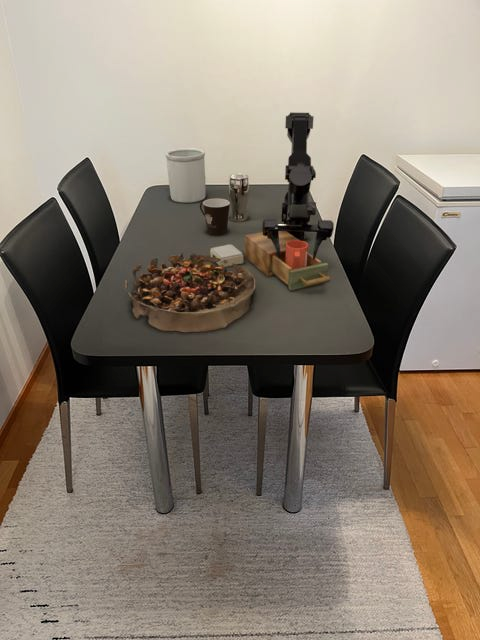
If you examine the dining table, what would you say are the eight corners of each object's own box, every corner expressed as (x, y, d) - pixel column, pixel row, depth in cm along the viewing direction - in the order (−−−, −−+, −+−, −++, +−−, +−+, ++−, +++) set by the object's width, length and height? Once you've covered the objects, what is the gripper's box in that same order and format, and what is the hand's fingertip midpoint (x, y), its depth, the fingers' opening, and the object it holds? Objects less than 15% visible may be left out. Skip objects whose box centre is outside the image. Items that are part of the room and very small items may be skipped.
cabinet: (306, 267, 144) (307, 245, 140) (267, 276, 139) (268, 253, 135) (280, 249, 155) (281, 228, 151) (244, 256, 150) (244, 235, 146)
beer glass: (246, 222, 174) (247, 179, 167) (227, 221, 176) (226, 178, 168) (250, 215, 180) (250, 173, 172) (231, 214, 181) (231, 172, 174)
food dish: (141, 268, 145) (139, 243, 141) (255, 271, 145) (256, 246, 141) (110, 330, 115) (106, 299, 111) (254, 334, 114) (256, 304, 110)
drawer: (335, 288, 131) (337, 270, 128) (299, 297, 127) (300, 278, 124) (300, 262, 145) (301, 245, 142) (266, 270, 140) (266, 252, 138)
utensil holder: (164, 202, 193) (160, 156, 183) (174, 191, 205) (170, 146, 196) (202, 204, 191) (200, 157, 182) (209, 192, 203) (208, 148, 194)
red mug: (284, 266, 140) (286, 239, 136) (305, 267, 139) (307, 240, 135) (284, 280, 133) (286, 252, 129) (306, 281, 132) (308, 253, 128)
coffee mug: (233, 235, 165) (233, 205, 159) (208, 238, 162) (207, 208, 157) (222, 223, 174) (221, 194, 169) (198, 226, 172) (197, 197, 166)
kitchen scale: (231, 253, 152) (231, 243, 151) (243, 263, 146) (243, 253, 145) (209, 257, 150) (209, 248, 148) (220, 267, 144) (220, 258, 142)
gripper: (263, 189, 130) (261, 245, 126) (336, 190, 129) (336, 247, 125) (263, 208, 141) (261, 261, 137) (331, 210, 139) (330, 263, 136)
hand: (296, 258), depth 133 cm, fingers open, 9 cm apart
